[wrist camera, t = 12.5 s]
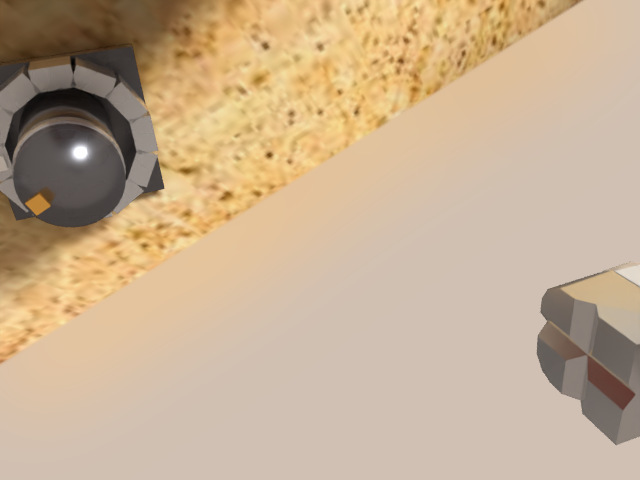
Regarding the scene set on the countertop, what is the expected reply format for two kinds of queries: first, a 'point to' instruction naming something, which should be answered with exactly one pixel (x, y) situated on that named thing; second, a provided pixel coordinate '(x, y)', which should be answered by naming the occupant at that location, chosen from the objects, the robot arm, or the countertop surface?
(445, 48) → the countertop surface
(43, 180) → the lens
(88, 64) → the mount
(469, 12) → the countertop surface
